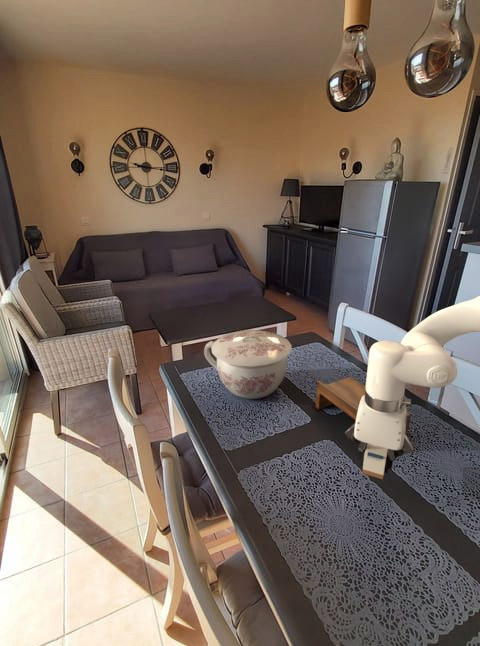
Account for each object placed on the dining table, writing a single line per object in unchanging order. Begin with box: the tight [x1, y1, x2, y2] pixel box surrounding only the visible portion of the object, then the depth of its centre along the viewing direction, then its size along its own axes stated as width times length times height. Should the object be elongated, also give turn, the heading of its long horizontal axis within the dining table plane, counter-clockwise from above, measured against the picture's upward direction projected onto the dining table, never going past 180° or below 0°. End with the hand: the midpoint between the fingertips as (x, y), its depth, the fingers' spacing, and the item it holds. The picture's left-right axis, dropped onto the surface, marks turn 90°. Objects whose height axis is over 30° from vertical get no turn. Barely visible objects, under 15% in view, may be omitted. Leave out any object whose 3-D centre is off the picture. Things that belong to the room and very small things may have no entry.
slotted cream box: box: [362, 443, 388, 480], centre depth 84 cm, size 10×4×6 cm, turn 153°
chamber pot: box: [203, 329, 293, 400], centre depth 126 cm, size 28×28×21 cm
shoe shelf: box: [315, 376, 412, 436], centre depth 109 cm, size 14×24×10 cm, turn 28°
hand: (374, 464), depth 83 cm, fingers closed on slotted cream box, 4 cm apart
